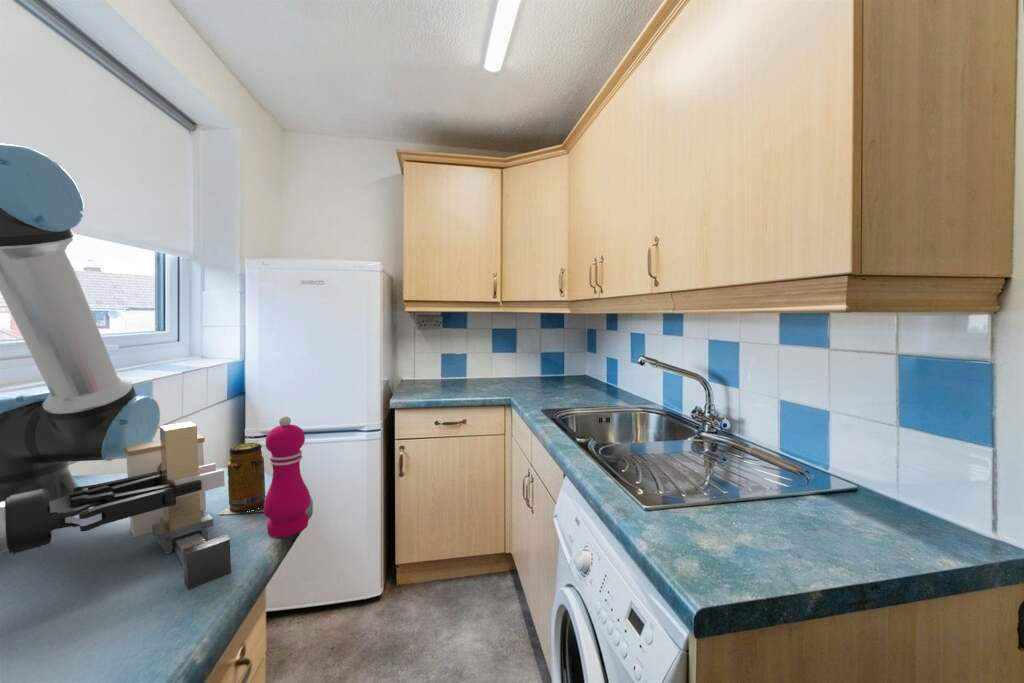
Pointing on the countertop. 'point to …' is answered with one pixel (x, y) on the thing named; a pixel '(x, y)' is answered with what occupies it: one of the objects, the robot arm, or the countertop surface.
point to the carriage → (176, 465)
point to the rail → (202, 557)
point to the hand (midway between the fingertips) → (219, 474)
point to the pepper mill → (286, 481)
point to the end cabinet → (148, 461)
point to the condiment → (246, 479)
